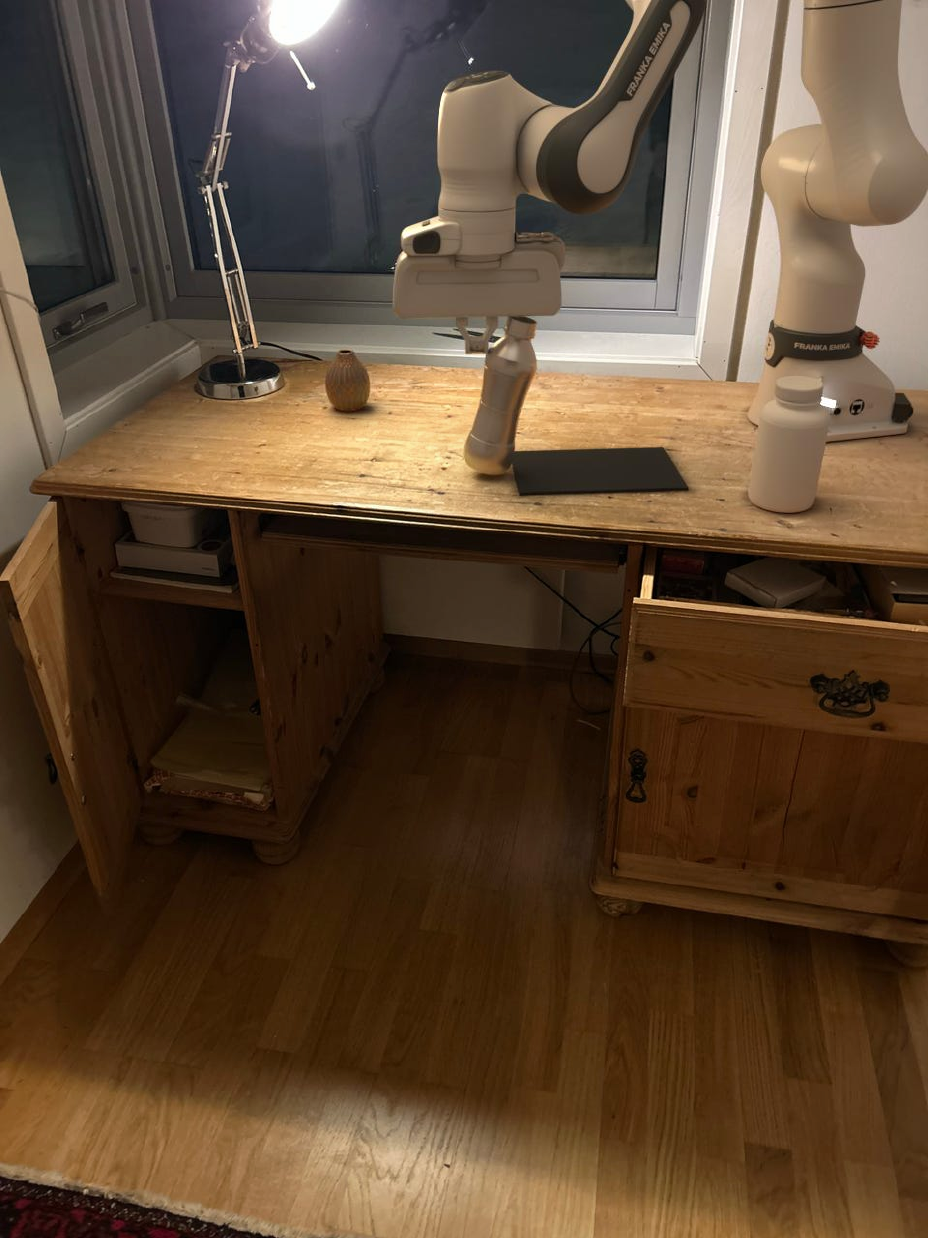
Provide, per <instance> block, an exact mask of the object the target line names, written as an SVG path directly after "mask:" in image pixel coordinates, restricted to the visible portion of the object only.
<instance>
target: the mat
mask: <svg viewBox="0 0 928 1238" xmlns="http://www.w3.org/2000/svg"><path fill="white" fill-rule="evenodd" d="M511 467H512V471H513V474H514V479H515V483H516V487H517V490H518V495H519V496H540V495H541V496H542V495H543V496H544V495H575V494H576V495H577V494H578V495H579V494H607V493H608V494H609V493H610V494H611V493H612V494H613V493H614V494H615V493H644V492H676V491H677V492H678V491H680V492H681V491H689V486H688V484H687V483H686V481H685V479H684V478H683V476H682V475H681V474H680V471H679V470H678V468H677V467H676V465H675V464H674V462H673V461H672V459H671V457H670V456H669V454H668V452H667V451H666V449H665V448H664V446H650V447H644V446H643V447H615V448H614V447H613V448H609V447H608V448H579V449H577V448H576V449H573V448H572V449H542V450H541V449H537V450H515V453H514V460H513V462H512V464H511Z"/></svg>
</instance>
